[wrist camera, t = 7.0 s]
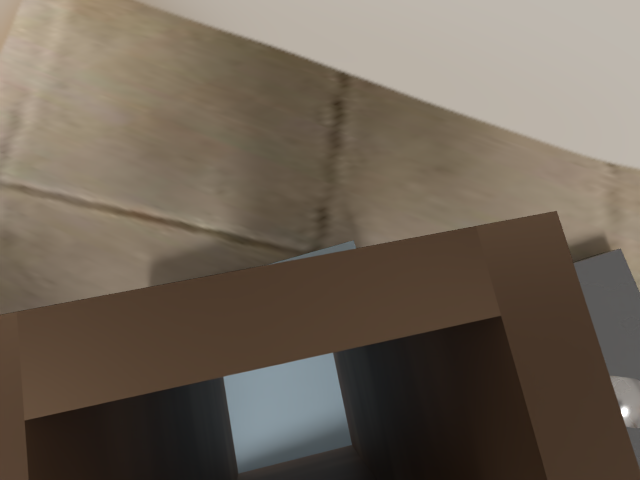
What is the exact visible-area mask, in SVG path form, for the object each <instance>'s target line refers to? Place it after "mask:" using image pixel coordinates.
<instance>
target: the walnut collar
mask: <svg viewBox="0 0 640 480" xmlns="http://www.w3.org/2000/svg"><path fill="white" fill-rule="evenodd" d="M329 353H333V355H334V360H335V365H336V370H337V375H338V380H339V384H340V389H341V394H342V399H343V404H344V409H345V414H346V418H347V423H348V428H349V433H350V438H351V443H352V445H349V446H346V447H342V448H338V449H334V450H330V451H326V452H322V453H318V454H314V455H310V456H306V457H302V458H298V459H294V460H290V461H286V462H282V463H278V464H274V465H270V466H266V467H262V468H258V469H255V470H251V471H247V472H243V473H239V474H238V467H237V461H236V455H235V448H234V442H233V436H232V429H231V423H230V416H229V410H228V404H227V397H226V391H225V385H224V378H223V377H225V376H229V375H234V374H238V373H243V372H247V371H252V370H256V369H261V368H265V367H270V366H275V365H279V364H284V363H288V362H293V361H297V360H302V359H306V358H311V357H315V356H320V355H325V354H329ZM0 480H640V469H639V466H638V462H637V459H636V456H635V453H634V450H633V447H632V444H631V441H630V438H629V434H628V431H627V428H626V425H625V422H624V419H623V416H622V413H621V410H620V406H619V403H618V400H617V397H616V394H615V391H614V388H613V385H612V382H611V378H610V375H609V372H608V369H607V366H606V363H605V360H604V357H603V354H602V350H601V347H600V344H599V341H598V338H597V335H596V332H595V329H594V326H593V323H592V319H591V316H590V313H589V310H588V307H587V304H586V301H585V298H584V295H583V291H582V288H581V285H580V282H579V279H578V276H577V273H576V270H575V267H574V263H573V260H572V257H571V254H570V251H569V248H568V245H567V242H566V239H565V235H564V232H563V229H562V226H561V223H560V220H559V217H558V214H557V211H554V212H549V213H543V214H538V215H533V216H527V217H522V218H517V219H511V220H506V221H501V222H495V223H490V224H484V225H479V226H474V227H468V228H463V229H458V230H452V231H447V232H442V233H436V234H431V235H425V236H420V237H415V238H409V239H404V240H399V241H393V242H388V243H383V244H377V245H372V246H366V247H361V248H356V249H350V250H345V251H340V252H334V253H329V254H324V255H318V256H313V257H307V258H302V259H297V260H291V261H286V262H281V263H275V264H270V265H265V266H259V267H254V268H249V269H243V270H238V271H232V272H227V273H222V274H216V275H211V276H206V277H200V278H195V279H190V280H184V281H179V282H173V283H168V284H163V285H157V286H152V287H147V288H141V289H136V290H131V291H125V292H120V293H114V294H109V295H104V296H98V297H93V298H88V299H82V300H77V301H72V302H66V303H61V304H55V305H50V306H45V307H39V308H34V309H29V310H23V311H18V312H13V313H7V314H2V315H0Z"/></svg>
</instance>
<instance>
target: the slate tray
mask: <svg viewBox="0 0 640 480" xmlns="http://www.w3.org/2000/svg"><path fill="white" fill-rule="evenodd" d="M350 249H356V247H355V243H354V240H353V241H350V242H346V243H343V244H339V245H336V246H332V247H328V248H325V249H321V250H318V251H314V252H311V253H307V254H304V255H300V256H296V257H293V258H289V259H286V260H282V261H279V262H275V263H281V262H286V261H291V260H297V259H302V258H307V257H313V256H318V255H324V254H329V253H334V252H340V251H345V250H350ZM275 263H271V264H275ZM268 265H270V264H268ZM264 266H265V265H264ZM223 378H224V385H225V391H226V397H227V404H228V410H229V416H230V423H231V429H232V436H233V442H234V448H235V455H236V461H237V467H238V474H239V473H243V472H247V471H251V470H255V469H258V468H262V467H266V466H270V465H274V464H278V463H282V462H286V461H290V460H294V459H298V458H302V457H306V456H310V455H314V454H318V453H322V452H326V451H330V450H334V449H338V448H342V447H346V446H349V445H352V443H351V438H350V433H349V428H348V423H347V418H346V414H345V409H344V404H343V399H342V394H341V389H340V384H339V380H338V375H337V370H336V365H335V360H334V355H333V353H329V354H325V355H320V356H315V357H311V358H306V359H302V360H297V361H293V362H288V363H284V364H279V365H275V366H270V367H265V368H261V369H256V370H252V371H247V372H243V373H238V374H234V375H229V376H225V377H223Z"/></svg>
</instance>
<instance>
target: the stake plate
mask: <svg viewBox="0 0 640 480" xmlns="http://www.w3.org/2000/svg"><path fill="white" fill-rule="evenodd" d="M573 263H574V267H575V270H576V273H577V276H578V279H579V282H580V285H581V288H582V291H583V295H584V298H585V301H586V304H587V307H588V310H589V313H590V316H591V319H592V323H593V326H594V329H595V332H596V335H597V338H598V341H599V344H600V347H601V350H602V354H603V357H604V360H605V363H606V366H607V369H608V372H609V375H610V378H611V382H612V385H613V388H614V391H615V394H616V397H617V400H618V403H619V406H620V410H621V413H622V416H623V419H624V422H625V425H626V428H627V431H628V434H629V438H630V441H631V444H632V447H633V450H634V453H635V456H636V459H637V462H638V466H639V469H640V292H639V290H638V288H637V286H636V283H635V281H634V279H633V276H632V274H631V272H630V269H629V267H628V265H627V262H626V260H625V258H624V255H623V253H622V251H621V249H617V250H613V251H609V252H605V253H601V254H598V255H595V256H592V257H589V258H586V259H583V260H579V261H576V262H573Z"/></svg>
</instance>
